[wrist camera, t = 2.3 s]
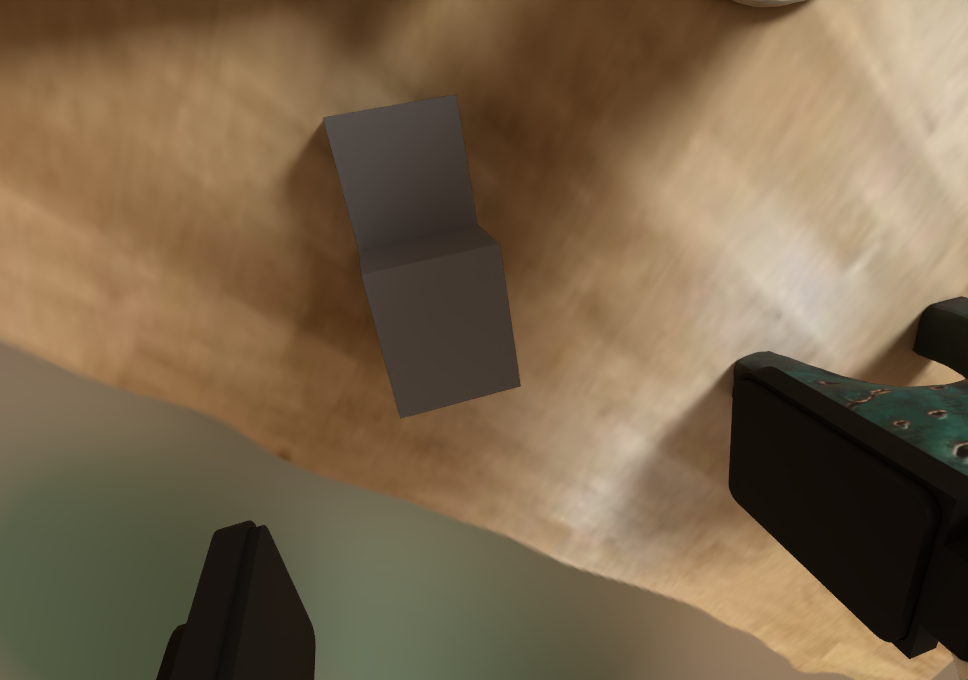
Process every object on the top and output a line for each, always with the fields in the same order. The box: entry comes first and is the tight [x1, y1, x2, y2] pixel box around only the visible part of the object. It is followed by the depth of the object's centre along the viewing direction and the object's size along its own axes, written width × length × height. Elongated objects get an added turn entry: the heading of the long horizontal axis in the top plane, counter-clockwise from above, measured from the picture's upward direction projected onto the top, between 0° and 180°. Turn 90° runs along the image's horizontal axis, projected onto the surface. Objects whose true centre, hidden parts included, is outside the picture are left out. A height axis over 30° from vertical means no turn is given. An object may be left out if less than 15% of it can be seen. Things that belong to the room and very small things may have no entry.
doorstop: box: [323, 95, 521, 419], centre depth 22 cm, size 5×11×7 cm, turn 9°
